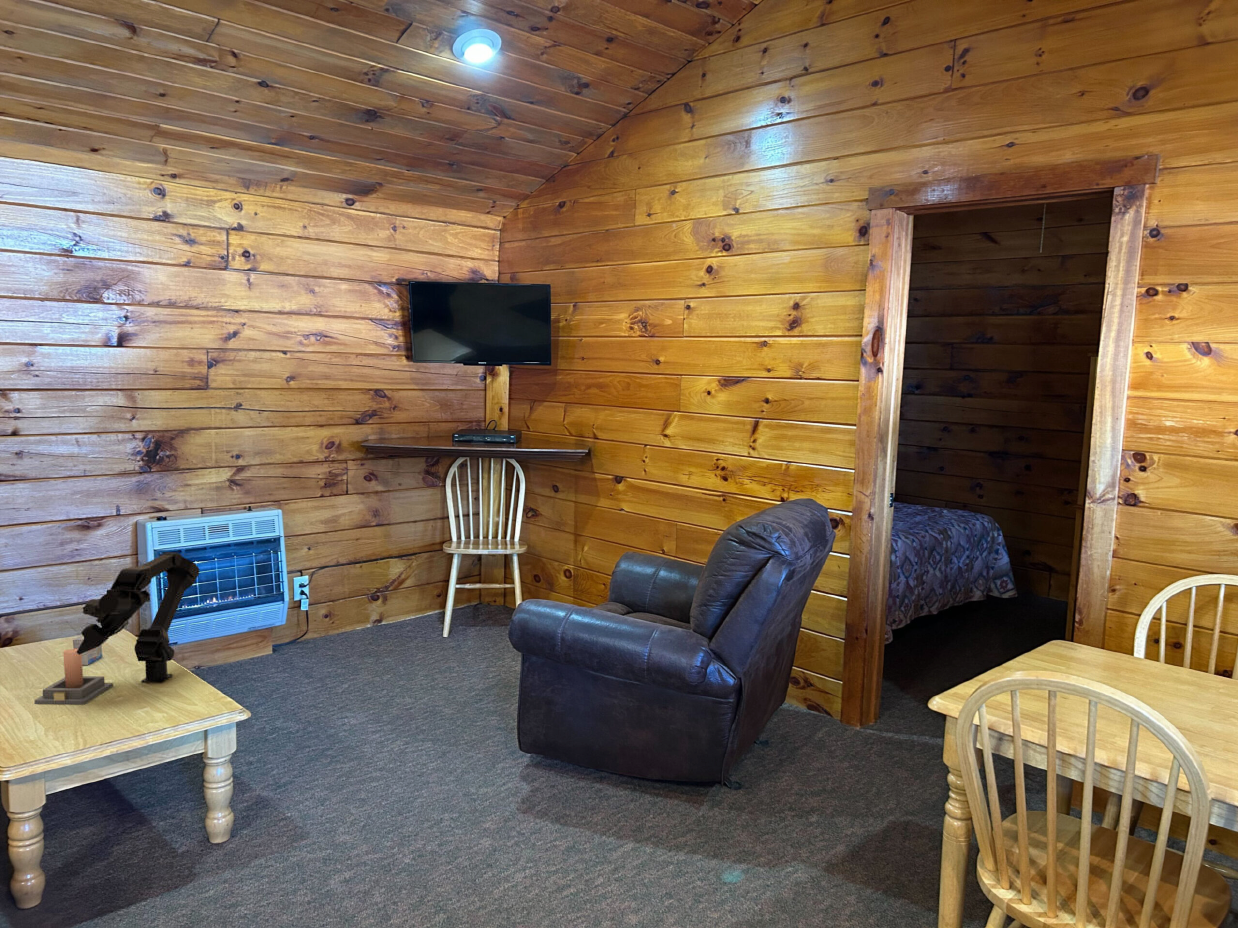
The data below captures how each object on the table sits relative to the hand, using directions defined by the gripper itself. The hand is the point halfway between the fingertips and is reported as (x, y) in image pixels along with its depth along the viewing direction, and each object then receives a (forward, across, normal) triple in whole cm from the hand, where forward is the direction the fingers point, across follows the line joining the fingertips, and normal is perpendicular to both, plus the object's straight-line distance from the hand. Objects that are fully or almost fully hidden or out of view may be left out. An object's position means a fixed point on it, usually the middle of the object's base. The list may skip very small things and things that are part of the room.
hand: (85, 648), depth 255 cm
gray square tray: (+12, 0, +7) cm, 14 cm away
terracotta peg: (+11, 0, +6) cm, 13 cm away
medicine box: (+18, -29, +1) cm, 34 cm away
